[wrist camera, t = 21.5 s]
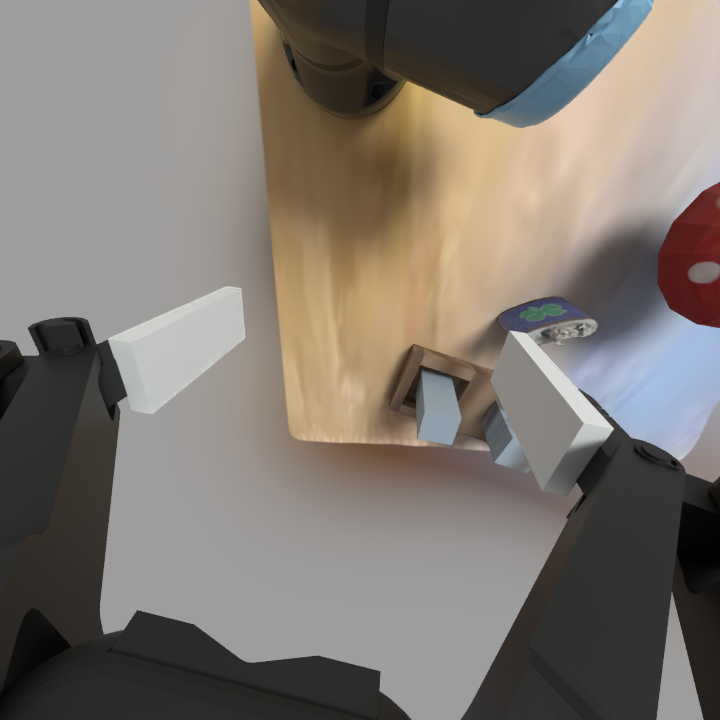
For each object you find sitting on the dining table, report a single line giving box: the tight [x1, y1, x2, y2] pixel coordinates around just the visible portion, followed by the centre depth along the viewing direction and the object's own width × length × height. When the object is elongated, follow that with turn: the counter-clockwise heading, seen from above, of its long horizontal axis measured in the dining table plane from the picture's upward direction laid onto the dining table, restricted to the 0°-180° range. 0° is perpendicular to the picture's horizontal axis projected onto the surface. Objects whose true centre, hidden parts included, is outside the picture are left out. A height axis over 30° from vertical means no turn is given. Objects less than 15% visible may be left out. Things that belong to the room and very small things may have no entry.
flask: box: [498, 296, 598, 346], centre depth 39 cm, size 9×3×11 cm, turn 110°
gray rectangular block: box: [416, 369, 462, 445], centre depth 46 cm, size 5×5×12 cm
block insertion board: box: [389, 344, 531, 473], centre depth 46 cm, size 24×12×12 cm, turn 73°
